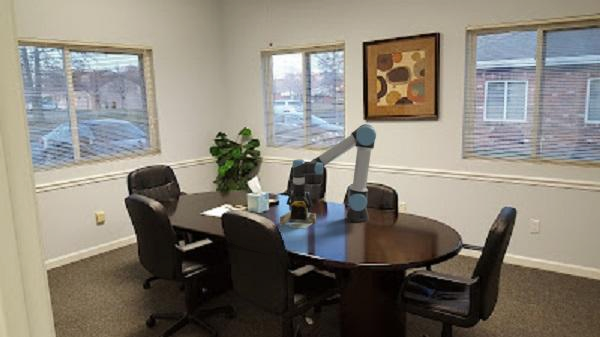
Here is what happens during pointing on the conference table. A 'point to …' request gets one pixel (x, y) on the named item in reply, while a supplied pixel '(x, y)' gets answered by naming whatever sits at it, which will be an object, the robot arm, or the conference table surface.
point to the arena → (287, 218)
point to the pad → (300, 225)
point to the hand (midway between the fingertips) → (300, 216)
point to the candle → (298, 210)
